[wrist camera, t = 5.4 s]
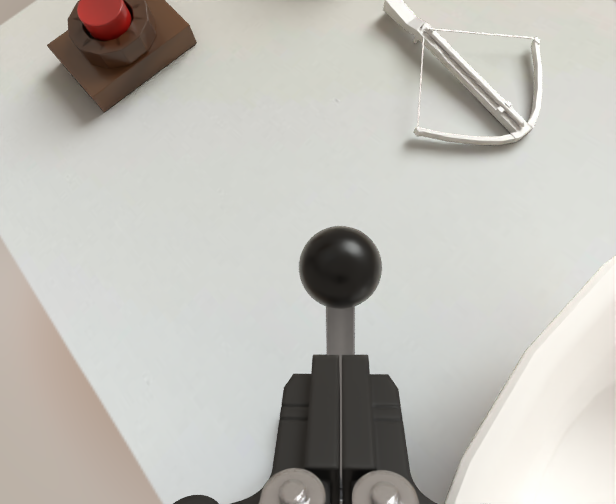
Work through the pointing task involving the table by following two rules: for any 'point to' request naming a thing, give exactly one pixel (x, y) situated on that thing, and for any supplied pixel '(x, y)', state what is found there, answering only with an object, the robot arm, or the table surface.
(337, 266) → the lever
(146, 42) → the button block
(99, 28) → the button
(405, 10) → the crossbow
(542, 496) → the bowl
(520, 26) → the table surface
